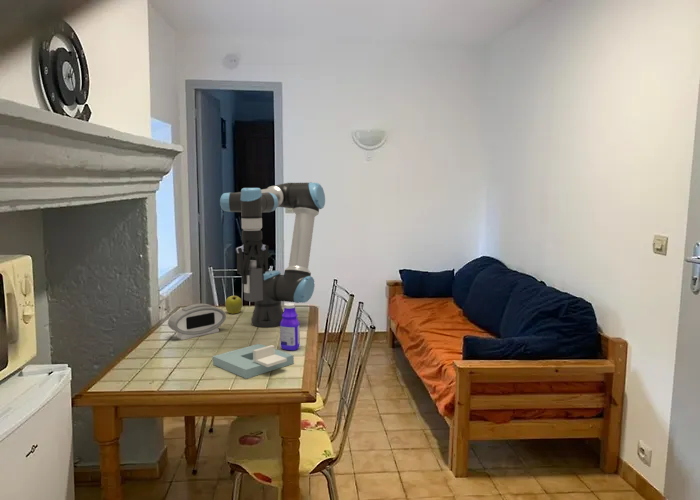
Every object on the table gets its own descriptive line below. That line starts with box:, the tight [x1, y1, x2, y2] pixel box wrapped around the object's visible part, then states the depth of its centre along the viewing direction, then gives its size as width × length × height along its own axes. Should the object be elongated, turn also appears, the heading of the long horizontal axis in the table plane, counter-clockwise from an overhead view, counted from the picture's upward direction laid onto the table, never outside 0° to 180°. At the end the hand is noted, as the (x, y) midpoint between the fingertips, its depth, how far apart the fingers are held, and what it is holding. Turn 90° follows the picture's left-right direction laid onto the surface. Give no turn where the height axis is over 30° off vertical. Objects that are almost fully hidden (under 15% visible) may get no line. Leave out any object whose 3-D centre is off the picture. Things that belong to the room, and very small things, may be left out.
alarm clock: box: [167, 303, 227, 341], centre depth 230 cm, size 23×6×13 cm, turn 132°
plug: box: [243, 259, 263, 303], centre depth 208 cm, size 5×5×15 cm
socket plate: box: [212, 343, 295, 380], centre depth 194 cm, size 20×20×3 cm
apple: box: [224, 293, 243, 315], centre depth 266 cm, size 8×8×10 cm
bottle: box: [279, 302, 301, 351], centre depth 210 cm, size 7×6×17 cm
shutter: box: [253, 344, 287, 367], centre depth 187 cm, size 8×8×4 cm
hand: (253, 291), depth 208 cm, fingers closed on plug, 5 cm apart
